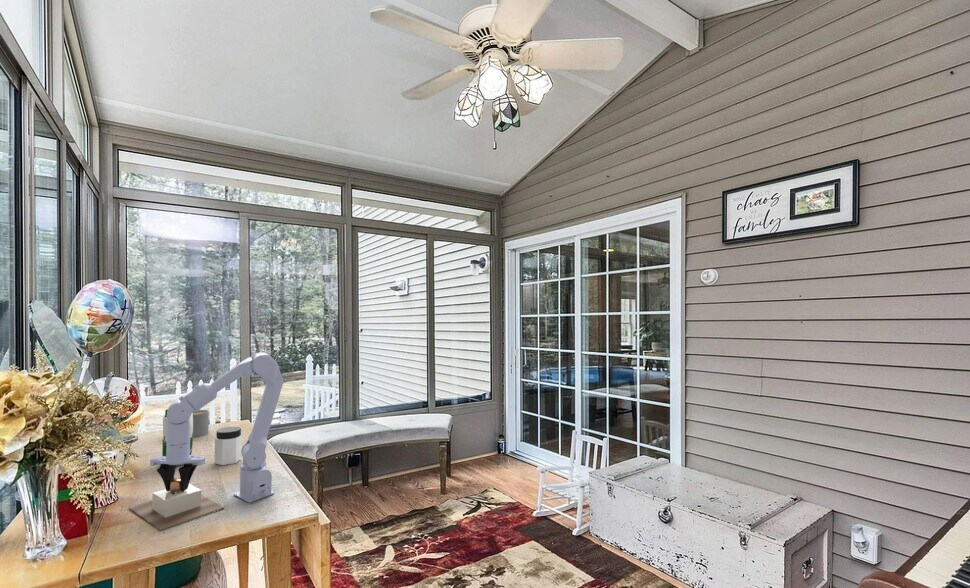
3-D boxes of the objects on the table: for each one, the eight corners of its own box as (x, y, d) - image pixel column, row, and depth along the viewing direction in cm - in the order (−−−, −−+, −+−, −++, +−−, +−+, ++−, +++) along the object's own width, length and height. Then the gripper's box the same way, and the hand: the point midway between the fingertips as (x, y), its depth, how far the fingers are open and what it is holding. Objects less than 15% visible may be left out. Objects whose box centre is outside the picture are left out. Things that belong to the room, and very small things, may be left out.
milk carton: (166, 460, 169) (167, 407, 169) (194, 457, 172) (195, 405, 173) (159, 468, 161) (160, 412, 161) (188, 465, 164) (190, 410, 165)
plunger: (186, 504, 131) (187, 479, 131) (172, 509, 128) (173, 483, 128) (180, 501, 133) (181, 476, 133) (167, 506, 130) (167, 480, 130)
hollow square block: (200, 505, 131) (201, 489, 131) (165, 517, 124) (165, 500, 124) (186, 497, 136) (187, 482, 137) (152, 508, 129) (152, 492, 129)
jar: (214, 467, 163) (215, 433, 163) (213, 460, 170) (214, 428, 170) (242, 462, 168) (243, 430, 168) (240, 456, 175) (241, 425, 175)
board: (224, 508, 131) (224, 507, 131) (160, 531, 117) (160, 529, 117) (190, 490, 143) (190, 488, 143) (128, 508, 130) (128, 507, 130)
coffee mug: (210, 430, 209) (210, 408, 209) (206, 436, 200) (206, 413, 200) (176, 433, 204) (176, 411, 204) (170, 439, 195) (171, 416, 195)
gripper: (211, 438, 135) (210, 484, 134) (162, 438, 134) (161, 484, 134) (197, 446, 128) (196, 494, 127) (145, 446, 127) (144, 494, 127)
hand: (177, 489), depth 130 cm, fingers closed on plunger, 4 cm apart
